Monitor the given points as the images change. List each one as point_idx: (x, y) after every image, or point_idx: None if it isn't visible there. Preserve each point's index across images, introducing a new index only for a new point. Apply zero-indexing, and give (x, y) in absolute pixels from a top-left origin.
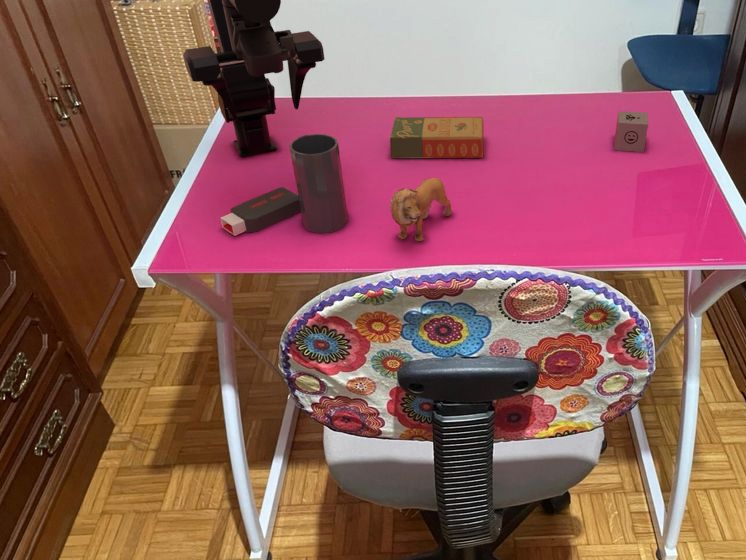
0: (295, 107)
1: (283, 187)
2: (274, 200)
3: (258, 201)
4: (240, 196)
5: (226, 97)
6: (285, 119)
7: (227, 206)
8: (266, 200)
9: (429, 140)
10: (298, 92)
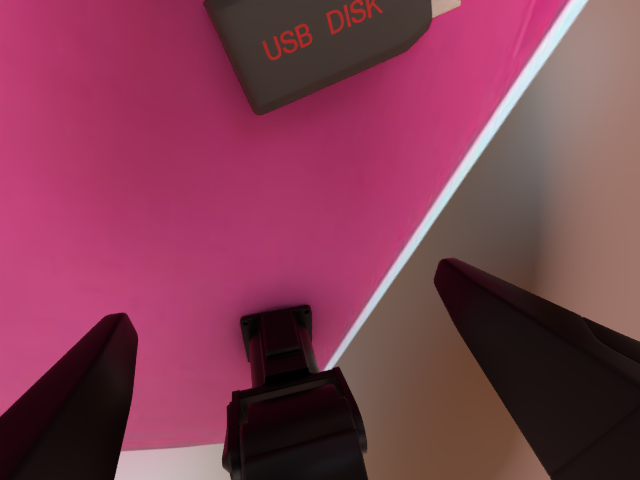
0: (121, 320)
1: (259, 100)
2: (303, 11)
3: (349, 33)
4: (351, 165)
5: (596, 341)
6: (211, 401)
7: (388, 130)
8: (326, 26)
9: None
10: (19, 420)
